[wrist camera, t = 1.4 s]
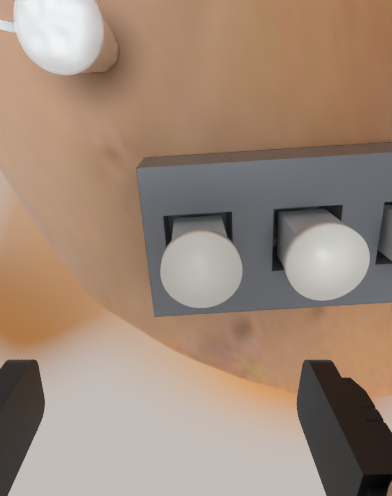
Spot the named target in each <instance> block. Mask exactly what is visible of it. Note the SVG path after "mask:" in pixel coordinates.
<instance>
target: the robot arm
mask: <svg viewBox="0 0 392 496" xmlns="http://www.w3.org/2000/svg"><path fill="white" fill-rule="evenodd" d="M44 406H45V399H44V393H43V388H42V382H41V377H40V372H39V366H38V363H37V361H36V360H7V361H6V362H5V363H4V365H3V366H2V368H1V369H0V496H7V495H8V493H9V491H10V489H11V487H12V484H13V482H14V480H15V478H16V476H17V473H18V471H19V469H20V467H21V464H22V462H23V460H24V458H25V456H26V453H27V451H28V449H29V447H30V445H31V442H32V440H33V438H34V436H35V434H36V431H37V429H38V427H39V425H40V422H41V420H42V417H43V413H44ZM297 411H298V417H299V420H300V423H301V426H302V429H303V432H304V434H305V437H306V440H307V443H308V445H309V448H310V451H311V454H312V456H313V459H314V462H315V465H316V467H317V470H318V473H319V476H320V478H321V481H322V484H323V487H324V489H325V492H326V495H327V496H392V432H391V431H390V429H389V428H388V426H387V425H386V423H384V422H383V418H382V417H381V415H380V413H379V412H378V410H376V409H375V406H374V404H373V402H372V401H371V399H370V397H369V396H368V394H367V393H366V391H365V390H364V389H363V388H362V387H360V386H359V385H358V384H357V383H356V382H355V381H353V380H352V379H351V378H342V377H341V376H340V374H339V372H338V370H337V369H336V367H335V365H334V363H333V362H332V361H331V360H305V361H304V362H303V366H302V372H301V378H300V384H299V389H298V395H297Z"/></svg>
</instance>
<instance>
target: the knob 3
mask: <svg viewBox="0 0 392 496" xmlns="http://www.w3.org/2000/svg"><path fill="white" fill-rule="evenodd" d="M377 250H379V251H380V252H381V253H382V254H384V255H385V256H386V257H387V258H389V259H390V260H391V261H392V205H384V209H383V216H382V223H381V229H380V236H379V242H378V249H377Z"/></svg>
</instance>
